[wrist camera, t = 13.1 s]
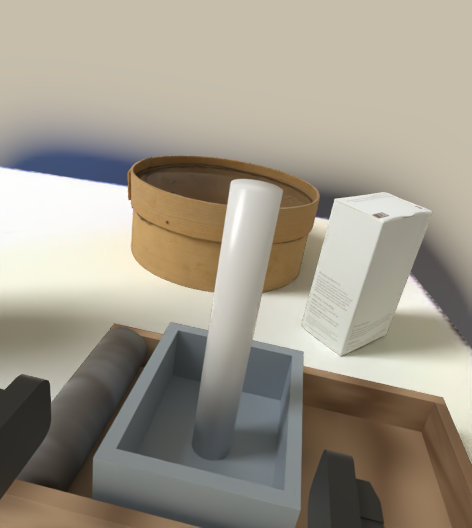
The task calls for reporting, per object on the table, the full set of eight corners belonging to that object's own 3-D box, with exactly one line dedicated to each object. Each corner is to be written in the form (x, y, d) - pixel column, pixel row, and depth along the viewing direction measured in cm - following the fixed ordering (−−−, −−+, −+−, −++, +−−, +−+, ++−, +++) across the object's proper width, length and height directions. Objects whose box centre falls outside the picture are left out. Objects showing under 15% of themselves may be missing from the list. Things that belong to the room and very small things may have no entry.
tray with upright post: (92, 524, 22) (96, 199, 15) (165, 374, 33) (188, 148, 26) (279, 574, 21) (384, 257, 14) (289, 403, 32) (350, 178, 25)
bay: (-15, 537, 22) (-25, 474, 20) (109, 362, 35) (111, 314, 33) (505, 681, 20) (553, 626, 18) (424, 435, 33) (446, 389, 31)
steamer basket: (85, 252, 53) (87, 164, 49) (186, 212, 75) (194, 148, 70) (263, 321, 45) (285, 223, 41) (319, 254, 67) (338, 185, 62)
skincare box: (346, 311, 50) (383, 190, 44) (389, 338, 46) (437, 209, 40) (297, 328, 45) (331, 194, 39) (340, 360, 41) (387, 216, 34)
